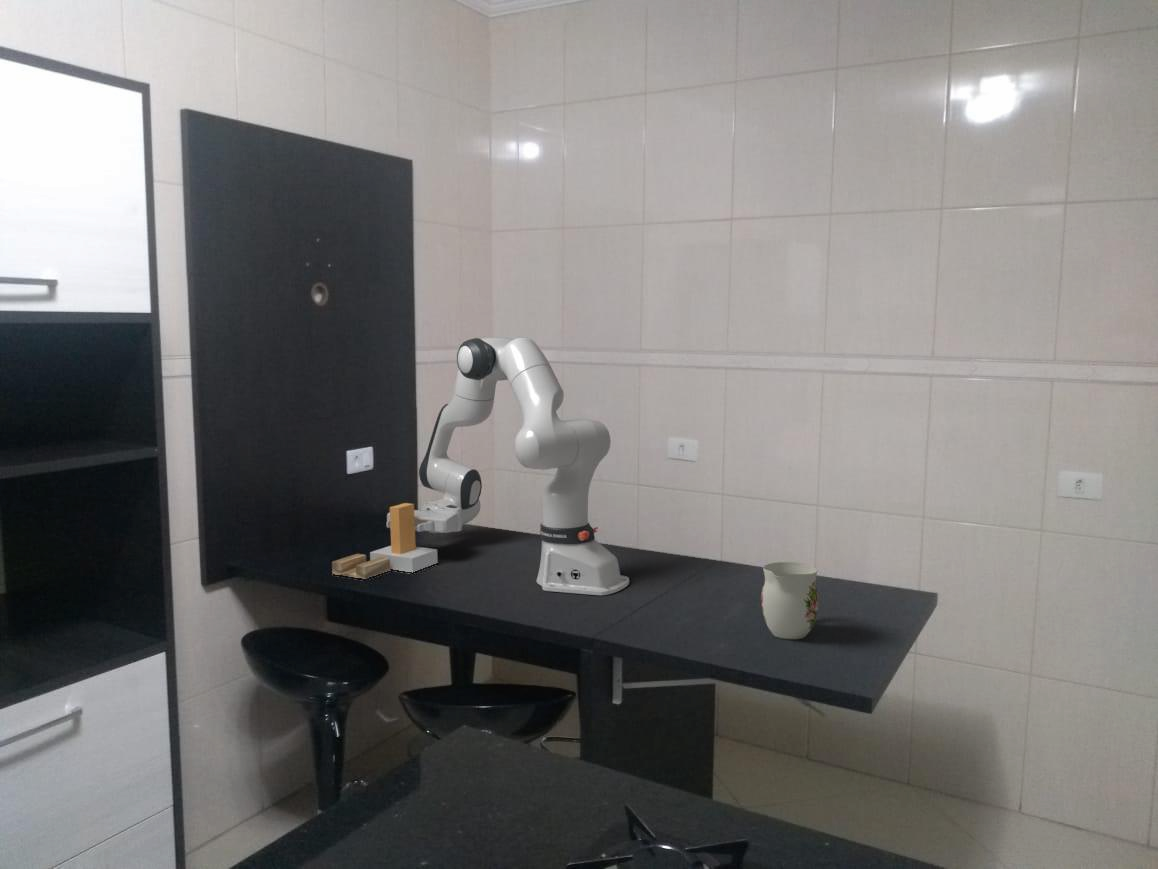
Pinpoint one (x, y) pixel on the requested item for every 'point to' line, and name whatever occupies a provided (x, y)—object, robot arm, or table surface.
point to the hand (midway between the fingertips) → (402, 526)
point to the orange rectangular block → (402, 528)
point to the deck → (407, 558)
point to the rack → (360, 566)
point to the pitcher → (789, 599)
